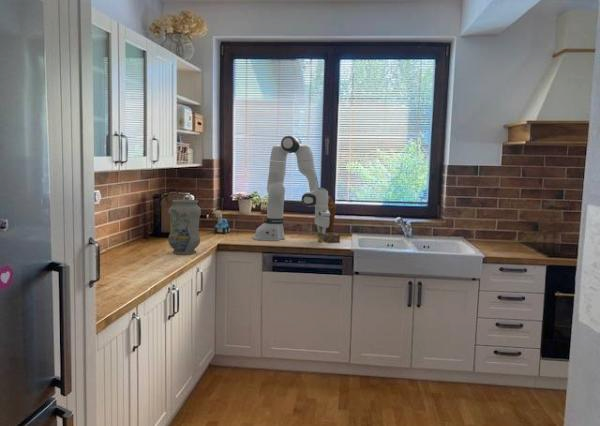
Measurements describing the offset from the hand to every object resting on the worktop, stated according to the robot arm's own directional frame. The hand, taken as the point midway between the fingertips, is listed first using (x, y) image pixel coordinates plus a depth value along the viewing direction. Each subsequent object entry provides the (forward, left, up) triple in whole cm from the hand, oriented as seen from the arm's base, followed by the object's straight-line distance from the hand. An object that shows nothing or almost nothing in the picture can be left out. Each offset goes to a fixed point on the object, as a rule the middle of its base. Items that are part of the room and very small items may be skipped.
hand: (321, 232), depth 333 cm
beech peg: (-1, 0, -6) cm, 6 cm away
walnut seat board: (+8, +2, -6) cm, 10 cm away
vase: (-91, -29, -7) cm, 95 cm away
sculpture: (+11, +21, -7) cm, 25 cm away
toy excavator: (-62, +42, -7) cm, 75 cm away
